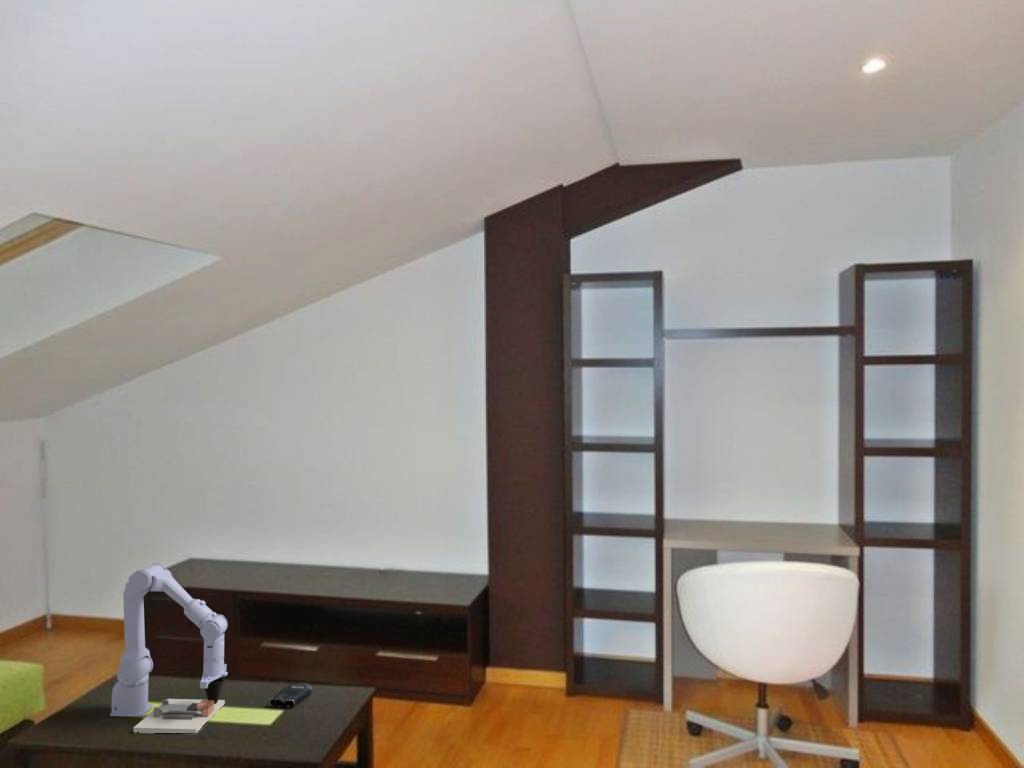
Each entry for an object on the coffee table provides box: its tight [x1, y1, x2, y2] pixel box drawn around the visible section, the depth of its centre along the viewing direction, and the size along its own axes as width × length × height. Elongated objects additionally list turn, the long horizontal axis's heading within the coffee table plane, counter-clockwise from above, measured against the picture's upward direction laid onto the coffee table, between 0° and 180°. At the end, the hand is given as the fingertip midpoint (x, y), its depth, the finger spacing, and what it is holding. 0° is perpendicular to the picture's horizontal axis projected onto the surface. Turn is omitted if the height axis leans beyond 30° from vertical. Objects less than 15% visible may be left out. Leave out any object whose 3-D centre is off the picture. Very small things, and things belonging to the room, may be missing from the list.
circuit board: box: [132, 698, 226, 734], centre depth 224 cm, size 18×20×4 cm
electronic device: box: [267, 682, 314, 709], centre depth 239 cm, size 9×6×15 cm
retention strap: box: [158, 703, 203, 714], centre depth 224 cm, size 14×4×2 cm, turn 89°
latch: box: [197, 699, 214, 716], centre depth 224 cm, size 4×4×3 cm
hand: (213, 703), depth 227 cm, fingers closed
